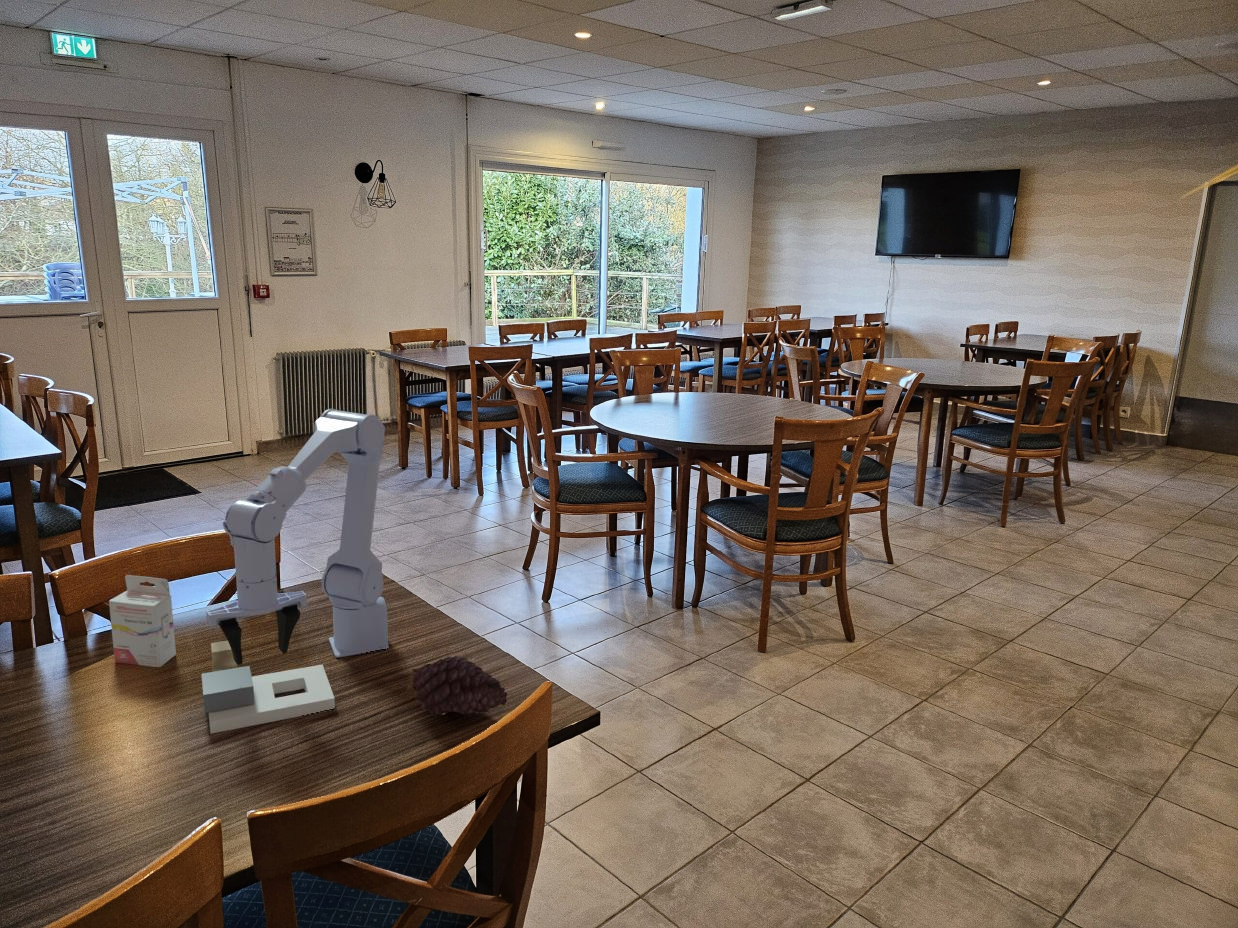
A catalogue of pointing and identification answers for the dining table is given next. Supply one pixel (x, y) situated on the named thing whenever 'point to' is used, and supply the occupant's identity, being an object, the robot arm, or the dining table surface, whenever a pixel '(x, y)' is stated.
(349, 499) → the robot arm
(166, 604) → the ink cartridge box
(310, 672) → the socket plate
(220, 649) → the maple peg
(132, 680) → the dining table surface
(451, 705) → the pine cone
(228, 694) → the grey cover
